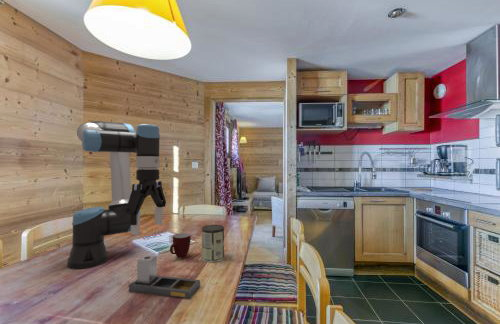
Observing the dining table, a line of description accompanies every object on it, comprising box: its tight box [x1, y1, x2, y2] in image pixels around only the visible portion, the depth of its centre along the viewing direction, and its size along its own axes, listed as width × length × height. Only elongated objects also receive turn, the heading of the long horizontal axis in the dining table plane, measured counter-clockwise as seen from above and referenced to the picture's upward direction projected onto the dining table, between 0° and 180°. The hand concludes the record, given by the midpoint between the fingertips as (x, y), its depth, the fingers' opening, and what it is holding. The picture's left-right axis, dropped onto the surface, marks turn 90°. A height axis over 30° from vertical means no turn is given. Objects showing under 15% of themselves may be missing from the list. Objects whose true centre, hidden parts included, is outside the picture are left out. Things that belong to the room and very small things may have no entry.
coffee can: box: [201, 224, 225, 263], centre depth 116 cm, size 10×10×14 cm
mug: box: [169, 232, 192, 259], centre depth 116 cm, size 11×8×10 cm
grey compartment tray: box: [128, 275, 201, 300], centre depth 87 cm, size 22×9×2 cm, turn 78°
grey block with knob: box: [136, 254, 158, 286], centre depth 88 cm, size 4×4×10 cm
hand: (147, 229), depth 88 cm, fingers open, 13 cm apart
